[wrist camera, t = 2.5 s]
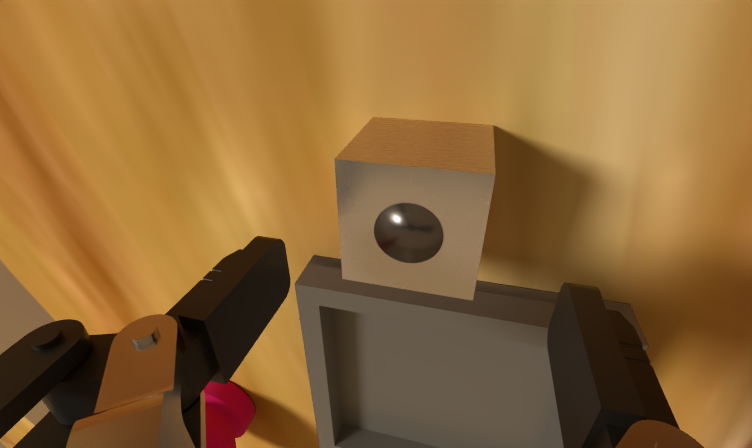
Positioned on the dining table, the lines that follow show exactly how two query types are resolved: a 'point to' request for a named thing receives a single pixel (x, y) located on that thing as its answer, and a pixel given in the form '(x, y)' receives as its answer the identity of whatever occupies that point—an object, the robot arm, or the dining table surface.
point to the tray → (429, 364)
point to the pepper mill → (226, 414)
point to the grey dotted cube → (415, 204)
